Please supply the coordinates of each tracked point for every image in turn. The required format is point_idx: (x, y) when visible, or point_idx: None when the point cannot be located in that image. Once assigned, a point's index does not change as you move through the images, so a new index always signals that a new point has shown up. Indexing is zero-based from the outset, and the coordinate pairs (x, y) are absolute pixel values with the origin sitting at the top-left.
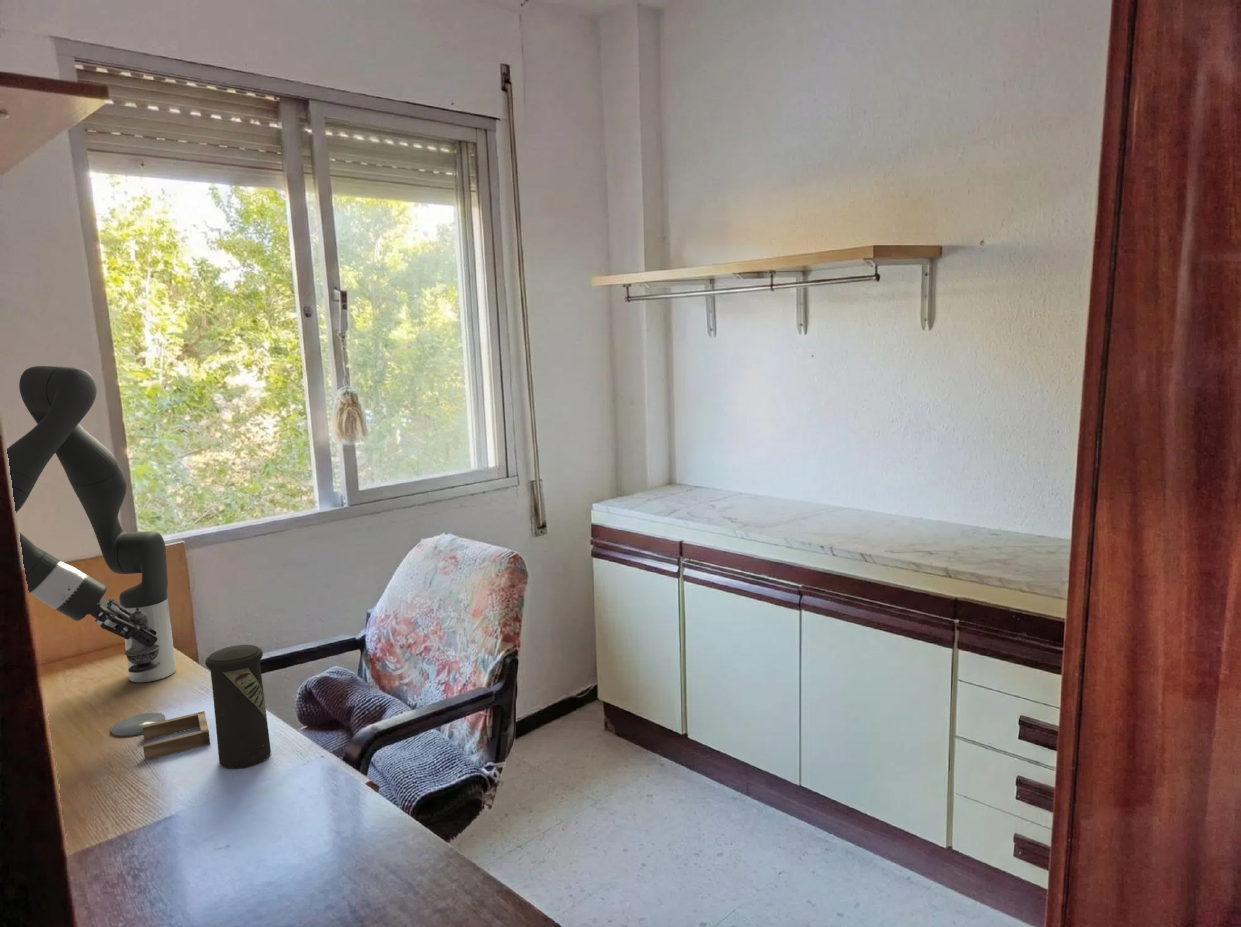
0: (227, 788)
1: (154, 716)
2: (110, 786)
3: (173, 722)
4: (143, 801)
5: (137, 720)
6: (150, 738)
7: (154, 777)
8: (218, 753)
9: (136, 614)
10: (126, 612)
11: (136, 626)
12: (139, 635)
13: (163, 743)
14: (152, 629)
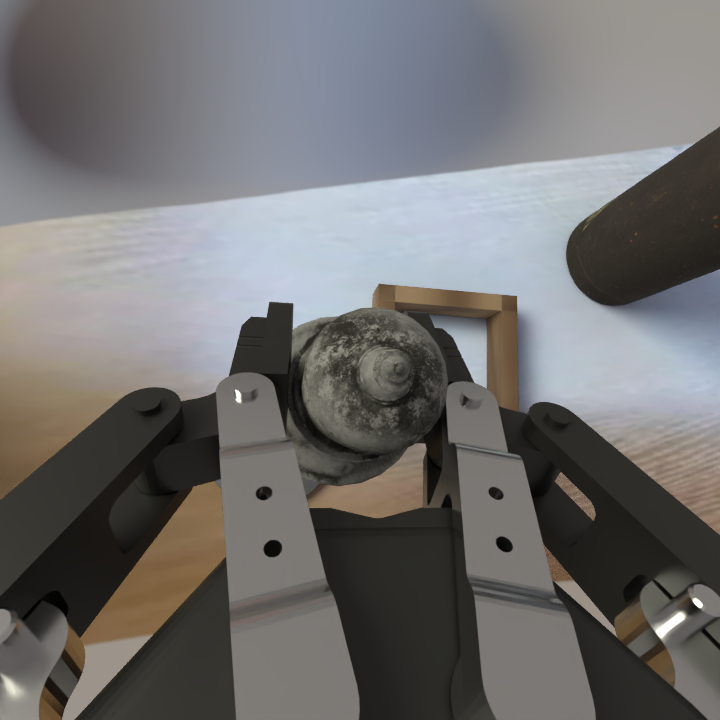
0: (711, 311)
1: None
2: (586, 507)
3: None
4: (683, 449)
5: None
6: None
7: (594, 424)
8: (632, 299)
9: (432, 392)
10: (297, 481)
11: (556, 411)
12: None
13: (516, 394)
14: (288, 316)
